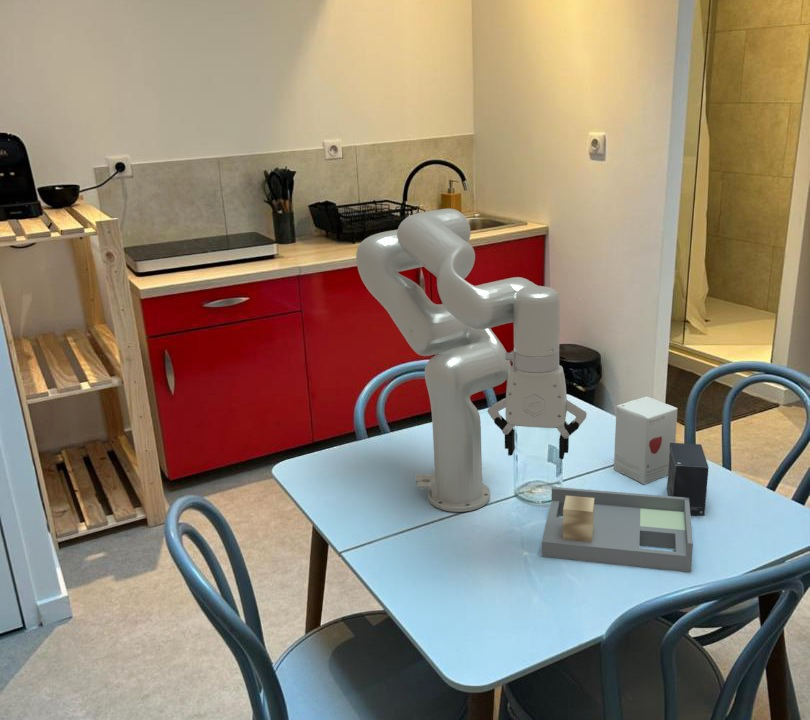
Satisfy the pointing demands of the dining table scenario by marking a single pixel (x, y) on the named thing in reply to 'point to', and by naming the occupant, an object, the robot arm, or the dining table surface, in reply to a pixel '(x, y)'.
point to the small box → (688, 475)
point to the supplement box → (644, 438)
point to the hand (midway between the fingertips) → (536, 453)
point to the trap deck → (625, 530)
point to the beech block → (578, 518)
